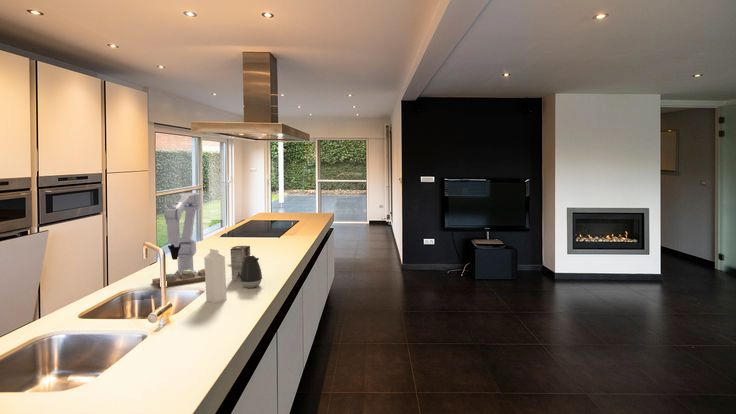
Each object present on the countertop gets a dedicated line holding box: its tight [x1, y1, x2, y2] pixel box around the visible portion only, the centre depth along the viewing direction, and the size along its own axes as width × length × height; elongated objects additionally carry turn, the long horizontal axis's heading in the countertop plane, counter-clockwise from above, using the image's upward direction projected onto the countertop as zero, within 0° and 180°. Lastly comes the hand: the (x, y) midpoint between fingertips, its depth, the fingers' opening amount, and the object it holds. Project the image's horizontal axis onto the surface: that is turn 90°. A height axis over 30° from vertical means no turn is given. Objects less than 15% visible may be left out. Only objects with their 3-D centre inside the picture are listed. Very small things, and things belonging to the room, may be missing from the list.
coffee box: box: [230, 245, 251, 282], centre depth 224 cm, size 9×6×16 cm
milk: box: [203, 248, 227, 304], centre depth 187 cm, size 6×6×22 cm
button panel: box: [151, 269, 205, 289], centre depth 221 cm, size 12×30×4 cm, turn 127°
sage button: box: [183, 270, 192, 275], centre depth 221 cm, size 4×4×2 cm
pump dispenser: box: [240, 254, 263, 289], centre depth 208 cm, size 10×10×15 cm
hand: (174, 259), depth 222 cm, fingers closed
